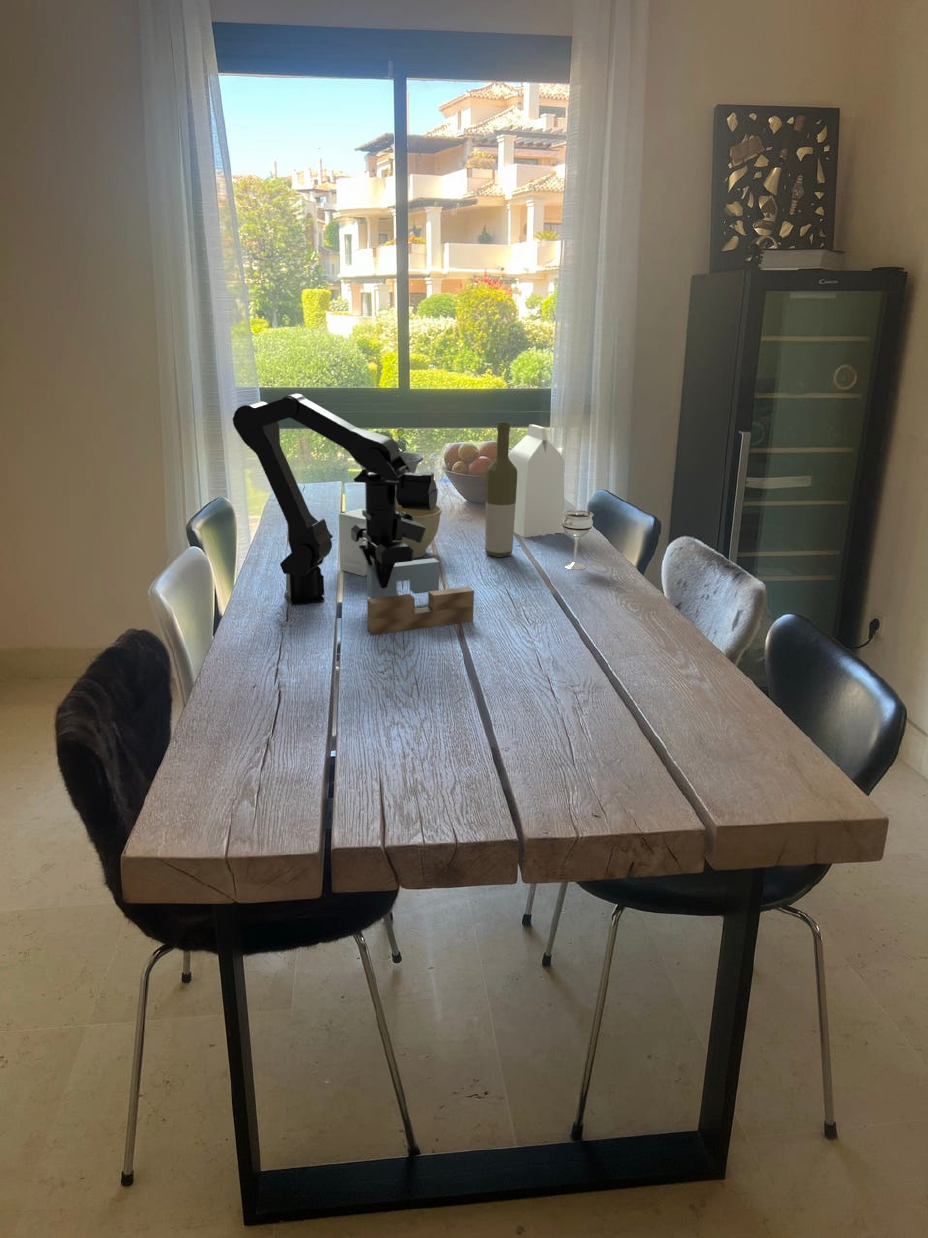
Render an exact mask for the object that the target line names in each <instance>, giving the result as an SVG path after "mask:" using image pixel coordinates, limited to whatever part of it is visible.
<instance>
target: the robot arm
mask: <svg viewBox="0 0 928 1238" xmlns="http://www.w3.org/2000/svg"><path fill="white" fill-rule="evenodd" d="M286 419H292V420H294V421H296V422H297V423H299V424H301V425H303V426H304V427H305V428H308V429H310V430H312V431H313V432H315V433H316V434H319V435H320V436H322V437H324V438H325V439H327V440H328V441H330V442H333V443H334V444H336V445H338V446H340V447H341V448H343V449H344V450H345V451H347V452H348V453H349V454H350V456H351V457H352V458H353V460H355V461H356V462H357V463H358V464H359V465H361V466H362V467H363V468H362V469H361V471H360V473H359V474H358V475H357V476H356V477H354V478H353V481H354V482H355V483H364V485H365V486H364V487H365V488H364V489H365V491H364V492H365V495H364V496H365V497H364V498H365V509H366V510H362V515H363V516H364V517H366V524H356V525H355V526H354V527H353V528H352V529H351V539H352V540H354V541H355V542H358V541H359V538H362V539H363V545H360V546H359V549H360V550H361V552H362V554H363V556H364V558H365V560H366V562H367V564H368V565H373V567H374V570H375V572H376V575H377V578H378V581H379V584H380V586H381V588H387V586H388V582H389V579H390V576H391V573H392V570H393V567H394V564H395V563H400V562H409V561H413V560H414V558H413V550H412V549H411V548H410V547H409V546H408V545H407V544H405V543H404V542H402V541H401V542H393V540H396V541H400V540H402V537H404V538H407V539H411V540H415V541H416V542H418V543H421V541H422V538H423V536H424V533H425V530H426V527H425V526H423V525H422V524H420V523H418V522H416V521H413V519H412V515H411V514H409V513H406V512H402V513H401V514H400V513H398V512H397V511H396V500H397V502H398V505H401V506H402V508H403V509H415V510H427V511H433V510H434V509H435V506H436V505H437V502H438V501H437V500H438V493H439V492H438V491H439V490H438V487H437V482H436V480H435V473H432V472H425V473H424V472H423V473H420V472H419V473H418V472H411V470H412V469H411V468H410V467H409V466H408V464H407V462H406V461H405V459H404V458H403V457H402V455H401V454H400V449H399V445H398V443H397V442H396V441H395V440H394V439H393V438H391V437H389V436H387V435H384V434H381V433H377V432H374V431H370V430H366V429H361V428H360V427H357V426H356V425H353V424H351V423H350V422H348V421H346V420H345V419H343V418H341V417H339V416H338V415H336V414H334V413H332V412H330V411H329V410H327V409H325V408H323V407H321V406H320V405H318V404H316V403H314V402H313V401H312V400H309V399H307V398H306V397H305V396H304V395H303V394H300V393H293V394H289V395H286V396H284V397H282V398H281V399H277V400H275V401H274V400H273V401H272V402H269V403H267V402H265V401H261V400H258V401H256V402H250V403H247V404H244V405H241V406H239V407H238V408H237V409H235V411H234V414H233V417H232V423H233V426H234V429H235V430H236V432H237V433H238V435H239V438H241V440H242V441H243V443H244V444H245V445H246V446H247V447H249V449H250V450H252V451H253V452H254V453H255V455H256V456H257V458H258V459H257V460H259V463H260V465H261V468H262V470H263V472H264V474H265V476H266V478H267V481H268V483H269V486H270V487H271V490H272V492H273V495H274V496H275V499H276V501H277V503H278V505H279V508H280V509H281V512H282V515H283V517H284V519H285V521H286V523H287V536H288V537H287V540H288V541H287V542H288V545H289V549H290V552H291V553H289V555H287V556H286V557H285V558H284V559H283V560H282V561H281V562H280V565H279V566H280V567H281V568H280V569H281V570H282V573H283V574H285V579H286V592H284V596H285V598H286V599H287V600H288V602H290V604H291V605H301V604H310V603H318V602H324V601H325V597H324V595H325V577H324V575H323V574H322V571H321V570H322V569H321V568H320V567H319V566H320V565H322V564H323V563H324V559H325V558H326V557H327V556H328V555H329V554H330V552H331V550H332V548H333V542H332V538H333V537H334V536H333V534H331V533H330V531H329V529H328V526H327V522H326V520H325V518H322V519H320V520H319V521H318V520H317V519H316V518H315V517H314V516H313V515H312V514H311V512H310V510H309V508H308V505H307V503H306V501H305V499H304V496H303V494H302V492H301V489H300V488H299V487H300V486H299V485H298V482H297V480H296V478H295V476H294V474H293V472H292V470H291V467H290V465H289V461H288V460H287V458H286V456H285V453H284V451H283V448H282V446H281V439H280V438H281V437H280V436H281V434H280V433H281V432H280V425H279V422H280V421H283V420H286Z"/></svg>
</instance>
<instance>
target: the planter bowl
mask: <svg viewBox="0 0 928 1238" xmlns="http://www.w3.org/2000/svg"><path fill="white" fill-rule="evenodd" d="M396 511H397V512H398V513H400V514H401V513H402V512H406V513H409V514H411V515H412V519H413V521H416V522H418V523H420V524H422V525H423V526H425V527H426V530H425V533H424V536H423V538H422V541H421V543H418V542H416V541H415V540H411V539H407V538H404V537H402V540H400V541H396V540H393V542H401V541H402V542H404V543H405V544H407V545H408V546H409V547H410V548H411V549H412V550H413V559H416V558H421V557H423V556H425V555H426V551H427V548H428V547H430V546H431V544H432V542H433V541H434V539H435V537H436V535H437V532H438V530H439V527H440V519H441V514H442V508H441V507H440V506H439V505H437V504H436V506H435V509H434V510H433V511H427V510H415V509H403V508H402V506H401V505H398V502H397V500H396Z"/></svg>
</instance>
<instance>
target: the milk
mask: <svg viewBox="0 0 928 1238" xmlns="http://www.w3.org/2000/svg"><path fill="white" fill-rule="evenodd" d="M508 457H509V460H510V461H511V462H512V463H513V465H514V466H515V467H516V469H517V472H518V473H517V490H516V506H515V521H514V533H515V534H517V535H518V536H520V537H521V538H531V536H533V537H539V536H538V535H542V536H547V535H546V534H552V535H556V534H555V533H561V534H564V533H565V530H564V529H563V526H562V521H563V518H564V514H563V512H565V475H566V474H565V472H566V471H565V469H566V468H565V465H566V464H565V459H564V456H563V455H562V454H561V453H560V452H559V451H558V450H557V448H555V446H554V444H553V442H551V441H550V440H549V439H548V434H547V428H546V427H543V426H540V425H536V424H532V423H531V424H528V429H527V430H526V435H525V436H524V437H523V438H522V439H521V440H520V441H519V442H518V443H517V444H515V446H514V447H513V448H512V449H510V451H508ZM553 533H554V534H553Z"/></svg>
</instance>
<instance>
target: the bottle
mask: <svg viewBox="0 0 928 1238" xmlns="http://www.w3.org/2000/svg"><path fill="white" fill-rule="evenodd" d="M510 426H511V424H510V423H508V422H498V423H497V426H496V427H497V428H496V431H497V434H496V435H497V441H496V457H495V459H494V460H493V461H492V462H491V463H490V464H489V466H488V467H487V468H486V471H485V475H486V477H485V535H484V536H485V538H484V539H485V540H484V541H485V542H484V543H485V544H484V545H485V546H484V550H485V553H486V555H489V556H492V557H497V558H503V557H508V556H510V555H512V553H513V549H514V521H515V506H516V490H517V473H518V472H517V469H516V467H515V466H514V465H513V463H512V462H511V461H510V460H509V457H508V454H509V452H510V451H509V449H510V448H509V446H510V445H509V443H510V430H511V427H510Z"/></svg>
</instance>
